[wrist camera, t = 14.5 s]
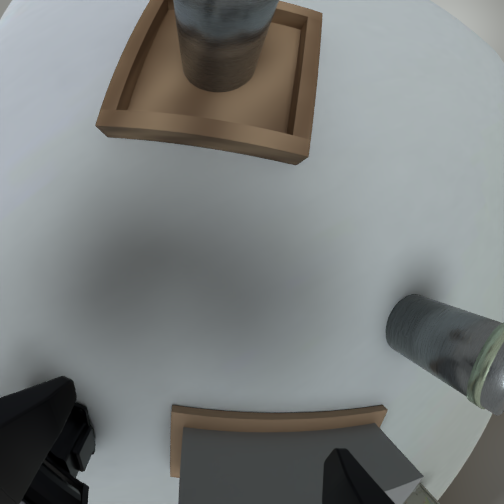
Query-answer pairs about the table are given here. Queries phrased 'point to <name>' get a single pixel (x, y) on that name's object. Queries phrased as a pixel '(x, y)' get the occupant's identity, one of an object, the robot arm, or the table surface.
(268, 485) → the block
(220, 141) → the tray
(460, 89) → the table surface
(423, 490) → the geiger counter
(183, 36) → the cylinder
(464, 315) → the cylinder
